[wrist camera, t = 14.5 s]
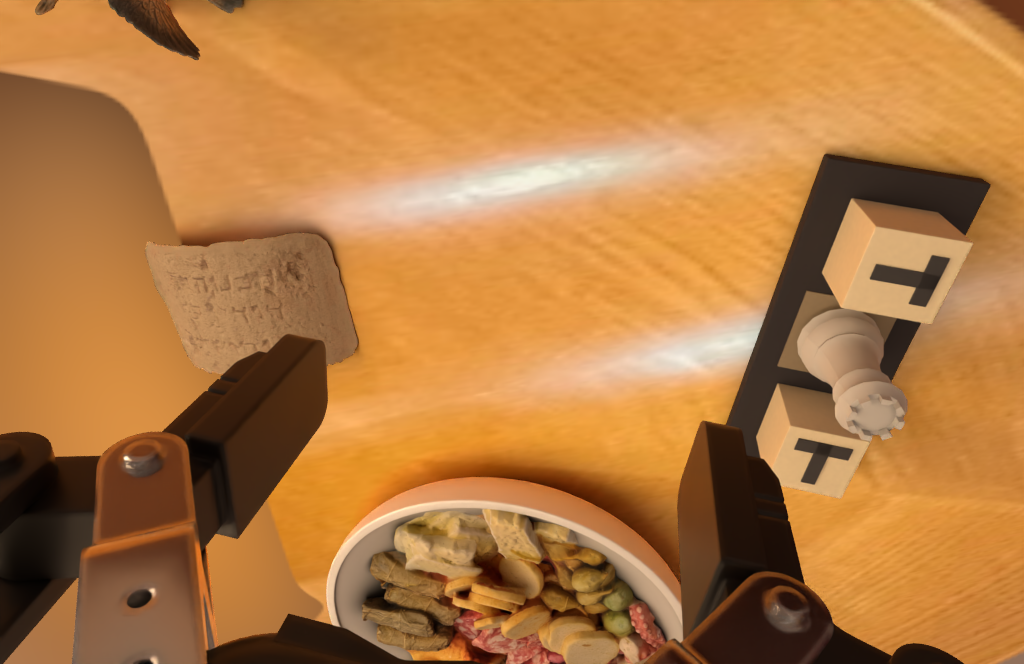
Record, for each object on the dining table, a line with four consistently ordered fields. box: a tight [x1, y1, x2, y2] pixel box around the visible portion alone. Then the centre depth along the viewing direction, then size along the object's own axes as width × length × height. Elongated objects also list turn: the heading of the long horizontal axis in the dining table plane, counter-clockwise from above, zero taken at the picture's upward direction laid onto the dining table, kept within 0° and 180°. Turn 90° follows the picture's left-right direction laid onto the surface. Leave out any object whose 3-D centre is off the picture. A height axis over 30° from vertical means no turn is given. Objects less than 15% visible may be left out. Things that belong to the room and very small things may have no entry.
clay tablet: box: [145, 232, 358, 374], centre depth 45 cm, size 14×10×3 cm
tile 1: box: [756, 383, 870, 499], centre depth 39 cm, size 4×4×4 cm
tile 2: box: [822, 198, 973, 324], centre depth 33 cm, size 4×4×4 cm
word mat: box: [726, 154, 990, 458], centre depth 38 cm, size 20×8×1 cm, turn 173°
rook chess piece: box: [797, 309, 907, 441], centre depth 34 cm, size 4×4×8 cm
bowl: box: [326, 477, 683, 664], centre depth 52 cm, size 30×30×8 cm
